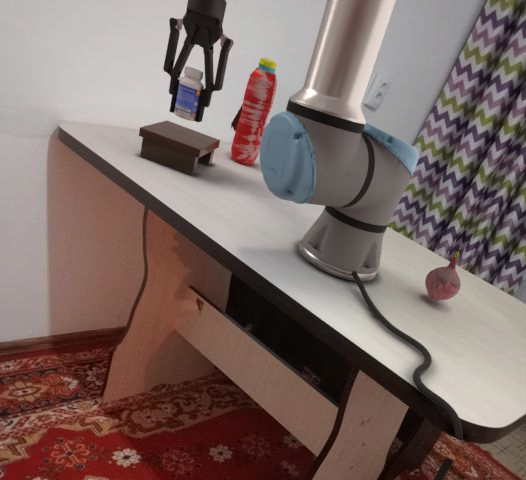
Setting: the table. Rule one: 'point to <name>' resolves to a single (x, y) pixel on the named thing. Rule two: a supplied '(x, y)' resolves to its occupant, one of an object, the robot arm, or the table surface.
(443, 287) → the vegetable
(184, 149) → the stand
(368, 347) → the table surface
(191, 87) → the pill bottle
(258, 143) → the water bottle
